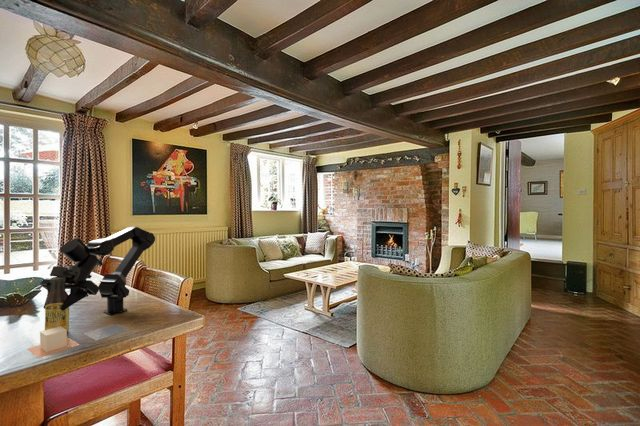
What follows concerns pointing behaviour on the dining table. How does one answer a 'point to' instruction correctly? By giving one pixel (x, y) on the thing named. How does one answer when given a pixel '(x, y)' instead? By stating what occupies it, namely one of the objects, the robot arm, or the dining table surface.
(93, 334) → the slate tile
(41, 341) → the cream block
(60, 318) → the sauce bottle
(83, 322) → the dining table surface
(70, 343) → the terracotta tile
